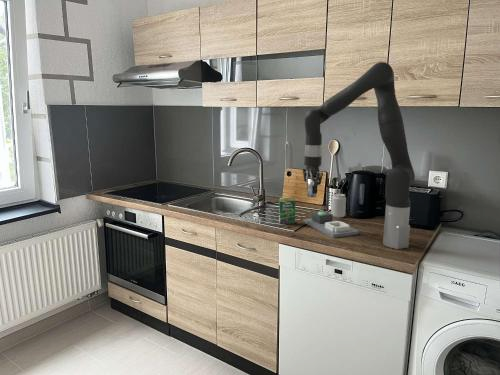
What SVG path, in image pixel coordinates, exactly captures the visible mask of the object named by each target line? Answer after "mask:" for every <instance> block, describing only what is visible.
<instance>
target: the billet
mask: <svg viewBox="0 0 500 375" xmlns="http://www.w3.org/2000/svg"><path fill="white" fill-rule="evenodd" d="M314 182H315V180H314ZM312 186H313V185H312V181H311V179H308V192H307V198H317V194H313V193H312Z"/></svg>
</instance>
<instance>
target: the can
mask: <svg viewBox="0 0 500 375" xmlns="http://www.w3.org/2000/svg"><path fill="white" fill-rule="evenodd" d="M346 204H347V197H346V194H343V193H334V194H332V196H331V204H330V205H331V208H330V213H331V214H333V218H338V219H339V218H344V217H345V216H346V207H347V206H346Z"/></svg>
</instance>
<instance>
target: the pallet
mask: <svg viewBox="0 0 500 375" xmlns="http://www.w3.org/2000/svg"><path fill="white" fill-rule="evenodd" d="M318 212H326V213H327V214H325V215H320V214H318ZM333 218H334V217H333V214H331V212H328V211H326V210H321V211H320V210H319V211H318V210H317V211H312V212H311V218H304V219H303V223H304V222H305V223H304V224H306V225H308V226H310V227H312V228H314V229H315V230H318V231H320V232H322V233H323V234H325V235H327V236H328V237H331V238H333V239H335V238H342V237H350V236H354V235H355V236H357V235H359V234H360V231H359V230H358V229H356V228H353V227H351V226H350V224H349V223H346V222H343V221H339V220H335V219H333Z"/></svg>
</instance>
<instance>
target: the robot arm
mask: <svg viewBox="0 0 500 375" xmlns="http://www.w3.org/2000/svg"><path fill="white" fill-rule="evenodd" d="M395 88H396V87H395V72H394V70H393V67H392V66H391V65H390V64H389V63H387V62H385V61H380V62H377V63H375V64H373V65H372V66H371V67H370V68H369V69H367V71H365V72H364V74H362V75H361V76H360V77H358V79H356V80H355V81H353V82H352V83H351V84H349V85H347V87H345V88H344V89H342V90H340V91H338V92H337V93H335V94H334V95H332V96H331V97H329V98H328V99H326V100H325V101H324V102H323V104H321V105H320V106H318V107H317V108H315V109H310V110H308V111H307V112H306V113H305V115H304V129H305V147H304V160H303V161H304V166H305V167H306V168H302V175H303V181H304V182H305V183H306V191H307V192H308V179H311V181H312V185H313V186H312V193H313V194H316V195H317V194H318V186H319V185H322V179H323V176H324V173H323V171H322V172H321V171H320V167H321V166H322V157H323V156H322V155H323V154H322V153H323V149H322V141H323V140H322V139H323V138H322V136H323V134H322V132H321V125H322V124H323V123H324V122H325V121H327V120H328V119H330V118H331V117H332V116H334V115H336V114H338V113H339V112H341V111H343V110H345V109H346V108H347V107H348V106H350V105H351V104H352V103H354V102H355V101H356V100H357V99H358V98H360V97H361V96H363V95H364V94H365V93H367V92H369V91H371V90H372V89H373V91H374V93H375V97H376V103H377V123H378V127H379V134H380V136H381V140H382V142H383V144H384V146H385V148H386V150H387V152H388V154H389V158H390V162H391V163H390V164H391V169H390V170H389V171H388V172H387V174H386V178H385V188H384V190H385V193H384V196H385V202H386V203H385V213H384V226H383V237H382V238H383V239H382V244H383V246H385V247H387V248H391V249H395V250H402V249H408V248H409V244H410V233H411V225H410V223H409V222H410V212H411V198H410V187H411V186H412V185H413V184H414V182H415V179H416V178H415V171H414V168H413V164H412V161H411V158H410V155H409V150H408V149H409V148H408V142H407V138H406V132H405V125H404V120H403V116H402V111H401V108H400V105H399V103H398V100H397V96H396V90H395ZM314 180H315V182H314Z"/></svg>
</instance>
